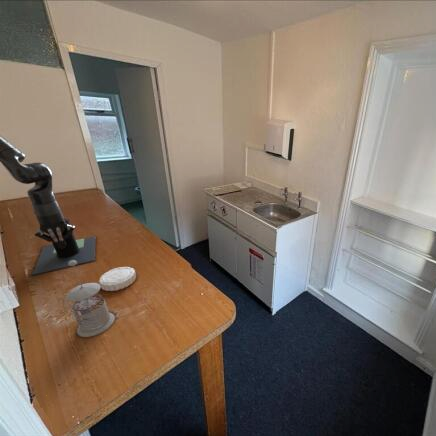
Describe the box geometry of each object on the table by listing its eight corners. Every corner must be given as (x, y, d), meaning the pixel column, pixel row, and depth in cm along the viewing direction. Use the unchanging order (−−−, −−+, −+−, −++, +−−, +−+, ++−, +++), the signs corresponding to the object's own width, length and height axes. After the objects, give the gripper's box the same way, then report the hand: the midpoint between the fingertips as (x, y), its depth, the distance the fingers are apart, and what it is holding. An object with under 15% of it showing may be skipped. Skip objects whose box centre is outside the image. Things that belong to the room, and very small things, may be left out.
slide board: (32, 275, 95) (32, 274, 95) (43, 246, 113) (43, 246, 113) (94, 260, 106) (94, 260, 106) (95, 236, 125) (95, 236, 125)
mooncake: (110, 295, 88) (108, 288, 86) (94, 284, 93) (92, 276, 91) (142, 278, 97) (140, 271, 96) (126, 268, 102) (124, 262, 101)
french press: (102, 336, 72) (77, 271, 62) (62, 337, 71) (29, 271, 61) (121, 312, 81) (101, 251, 71) (85, 312, 80) (60, 251, 70)
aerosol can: (74, 246, 114) (60, 209, 106) (83, 251, 111) (70, 213, 103) (53, 254, 108) (36, 215, 100) (62, 259, 105) (46, 219, 96)
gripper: (70, 206, 103) (82, 240, 110) (27, 212, 95) (43, 248, 102) (68, 212, 97) (81, 247, 104) (22, 218, 90) (40, 256, 97)
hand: (62, 247), depth 103 cm, fingers closed
